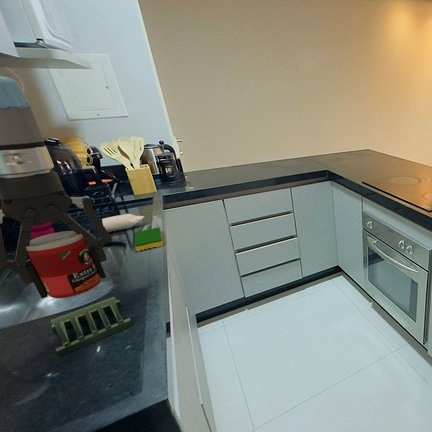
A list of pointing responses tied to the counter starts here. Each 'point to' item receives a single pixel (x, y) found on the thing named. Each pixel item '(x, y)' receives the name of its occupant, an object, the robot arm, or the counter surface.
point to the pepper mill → (42, 230)
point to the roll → (121, 222)
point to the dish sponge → (148, 239)
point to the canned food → (63, 264)
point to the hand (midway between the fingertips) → (74, 284)
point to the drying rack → (96, 335)
